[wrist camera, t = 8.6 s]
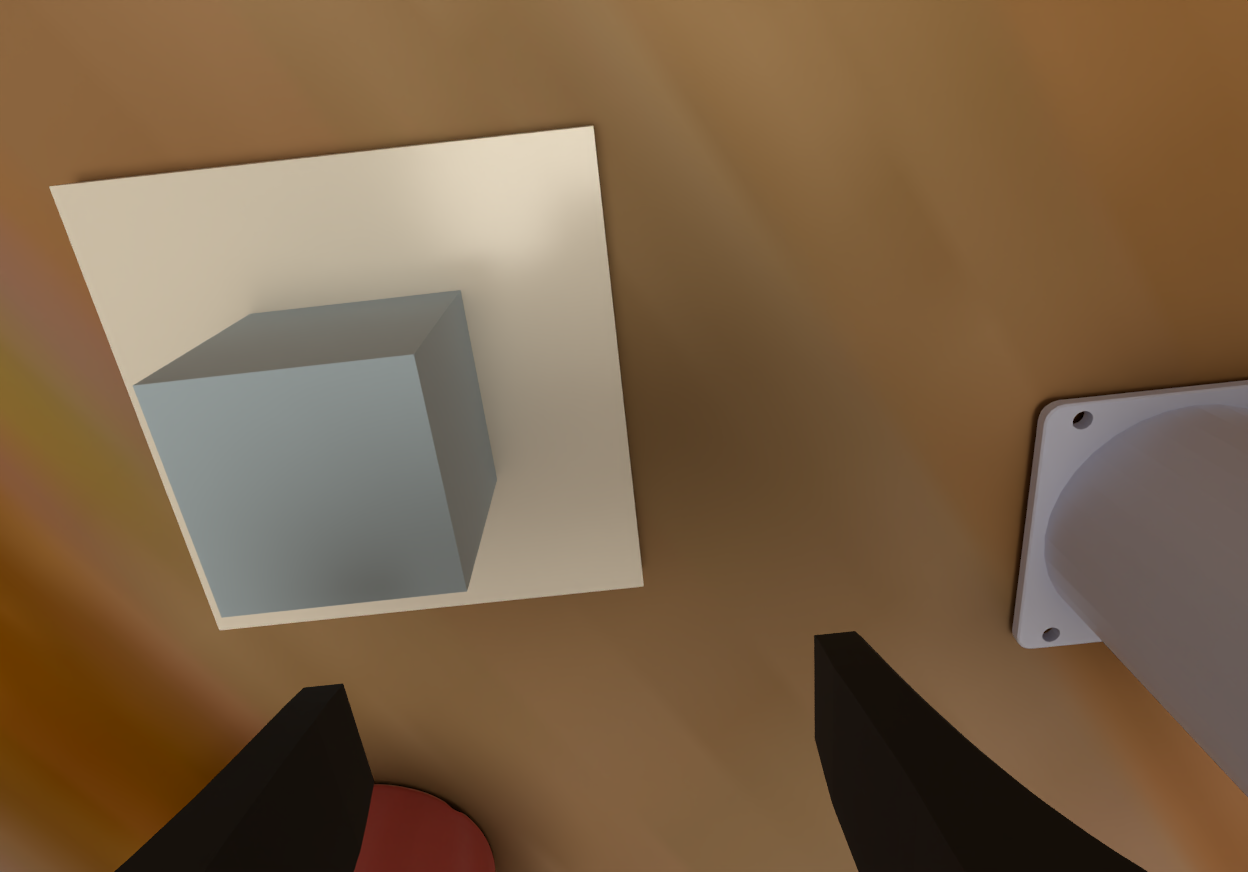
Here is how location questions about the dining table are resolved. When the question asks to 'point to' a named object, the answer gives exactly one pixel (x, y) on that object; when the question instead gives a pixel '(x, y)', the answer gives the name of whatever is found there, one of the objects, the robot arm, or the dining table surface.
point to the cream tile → (396, 267)
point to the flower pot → (420, 835)
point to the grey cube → (328, 453)
